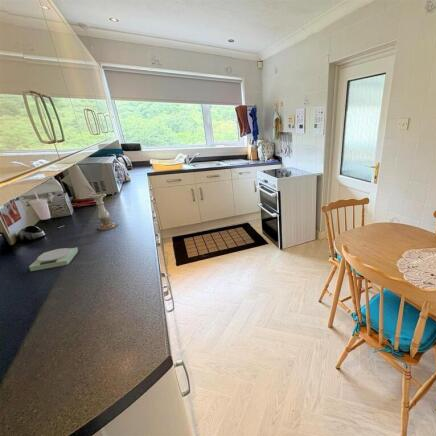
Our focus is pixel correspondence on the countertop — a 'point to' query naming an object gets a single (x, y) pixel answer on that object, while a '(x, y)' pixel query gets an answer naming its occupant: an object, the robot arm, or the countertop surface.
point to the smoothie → (40, 207)
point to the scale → (54, 258)
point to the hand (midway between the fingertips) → (39, 203)
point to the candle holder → (103, 212)
